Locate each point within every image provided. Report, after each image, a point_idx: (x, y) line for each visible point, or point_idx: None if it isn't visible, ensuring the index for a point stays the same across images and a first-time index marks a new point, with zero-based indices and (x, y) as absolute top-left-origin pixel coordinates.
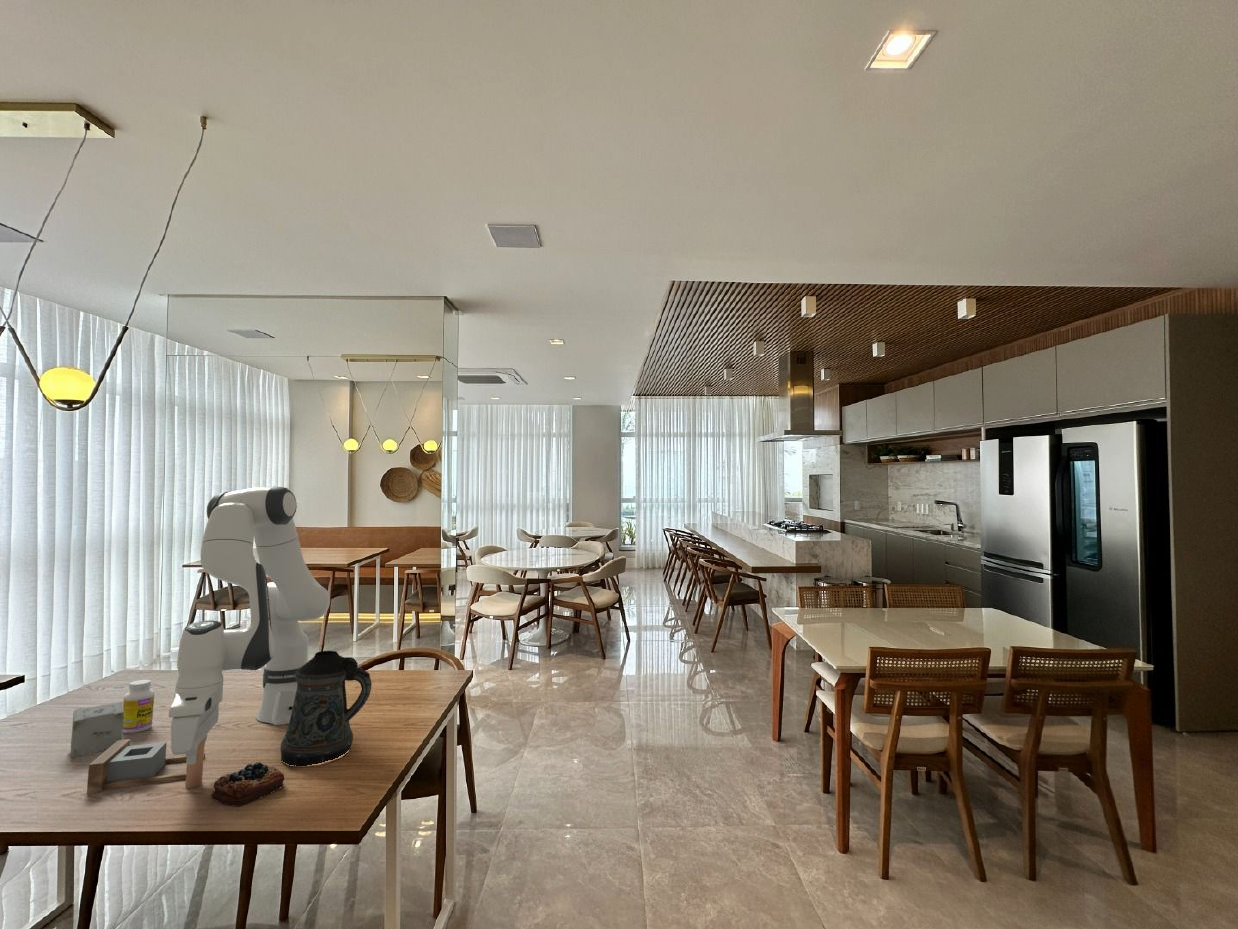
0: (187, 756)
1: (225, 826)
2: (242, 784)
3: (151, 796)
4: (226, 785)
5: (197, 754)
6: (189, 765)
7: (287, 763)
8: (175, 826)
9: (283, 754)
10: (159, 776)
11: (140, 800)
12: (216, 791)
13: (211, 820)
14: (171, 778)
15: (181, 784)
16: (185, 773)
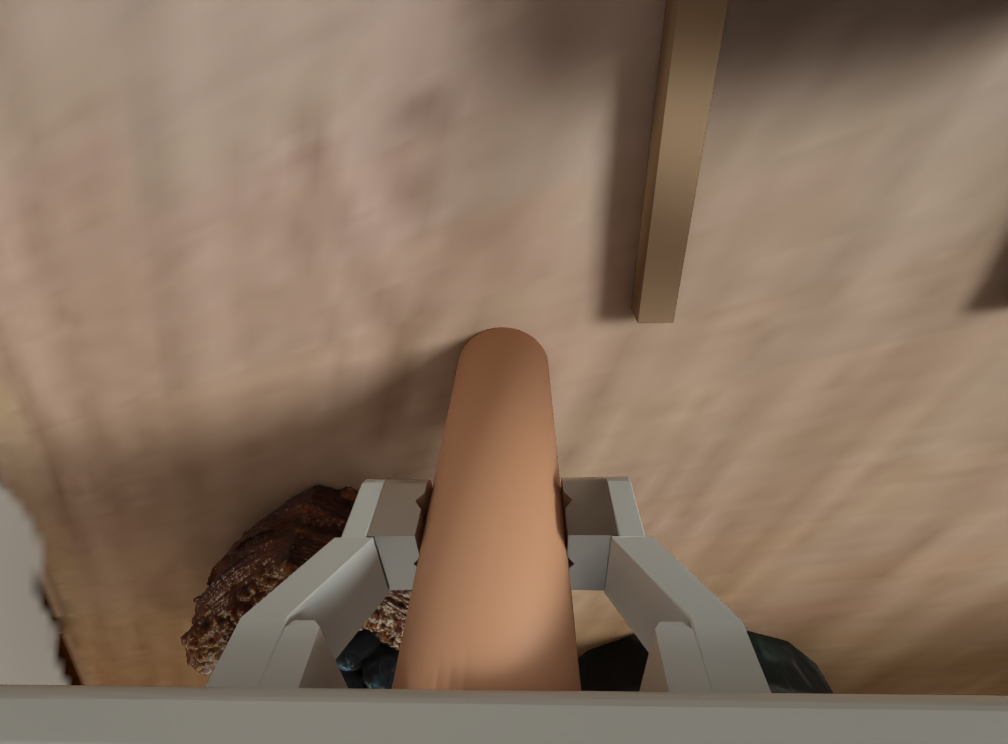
0: (330, 548)
1: (66, 570)
2: (197, 670)
3: (380, 145)
4: (223, 611)
5: (398, 587)
6: (441, 453)
7: (603, 653)
8: (15, 423)
9: (629, 684)
10: (704, 84)
11: (316, 79)
12: (243, 550)
13: (101, 526)
14: (648, 200)
15: (546, 290)
16: (664, 295)
